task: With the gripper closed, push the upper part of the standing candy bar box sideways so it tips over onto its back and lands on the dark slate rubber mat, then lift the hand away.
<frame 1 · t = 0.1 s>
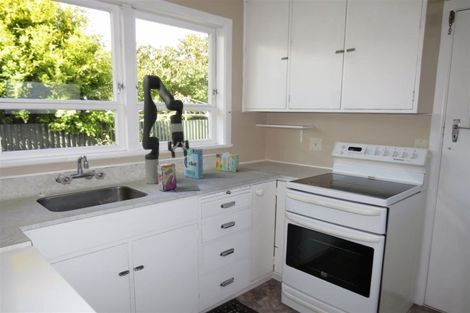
hand: (179, 157, 193), 22 cm above the worktop, tool pointing down, fingers open, 8 cm apart
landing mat: (186, 188, 204), on the worktop
candy bar box: (168, 189, 201), on the worktop, touching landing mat
snack box: (227, 171, 271), on the worktop
gum box: (192, 177, 243), on the worktop
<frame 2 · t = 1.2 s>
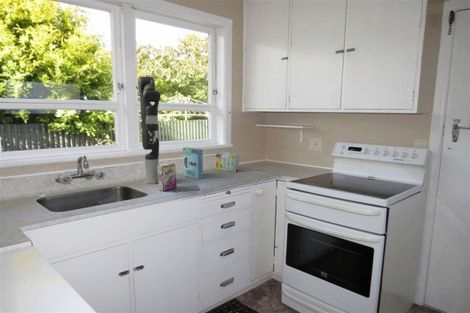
hand: (152, 149, 193), 27 cm above the worktop, tool pointing down, fingers open, 8 cm apart
nothing on the worktop moved.
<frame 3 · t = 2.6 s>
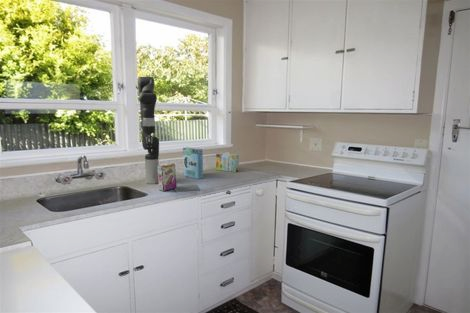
hand: (149, 152, 194), 25 cm above the worktop, tool pointing down, fingers closed
nothing on the worktop moved.
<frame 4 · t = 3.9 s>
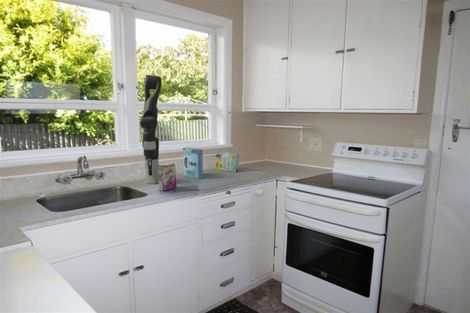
hand: (150, 175, 196), 10 cm above the worktop, tool pointing down, fingers closed
nothing on the worktop moved.
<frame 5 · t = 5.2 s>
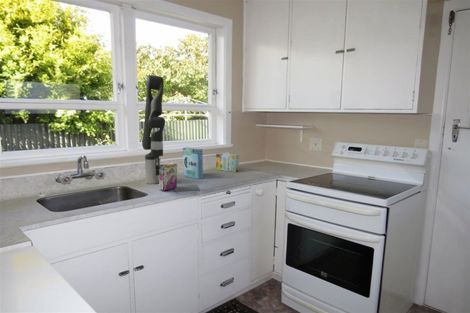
hand: (157, 175, 196), 10 cm above the worktop, tool pointing down, fingers closed
candy bar box: (168, 188, 201), on the worktop, touching gripper, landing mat
everything else where it was.
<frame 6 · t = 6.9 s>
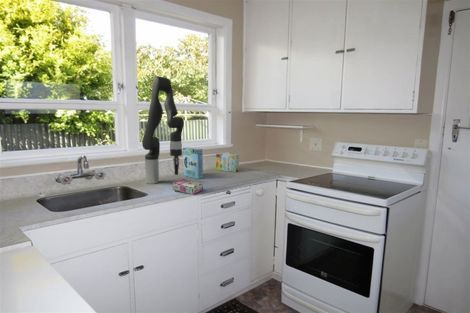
hand: (176, 174, 200), 10 cm above the worktop, tool pointing down, fingers closed
candy bar box: (178, 184, 201), point 3 cm above the worktop, touching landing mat
everything else where it was.
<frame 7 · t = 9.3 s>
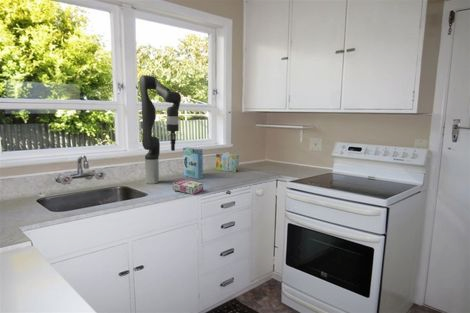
hand: (172, 150, 197), 26 cm above the worktop, tool pointing down, fingers closed
nothing on the worktop moved.
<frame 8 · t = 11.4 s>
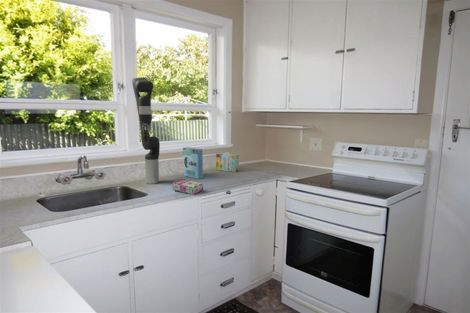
hand: (146, 141, 192), 32 cm above the worktop, tool pointing down, fingers closed
nothing on the worktop moved.
at the end: candy bar box tilted 93°; candy bar box inside the target area (3.6 cm from its centre), point 3.5 cm above the worktop; the gripper is holding nothing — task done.
